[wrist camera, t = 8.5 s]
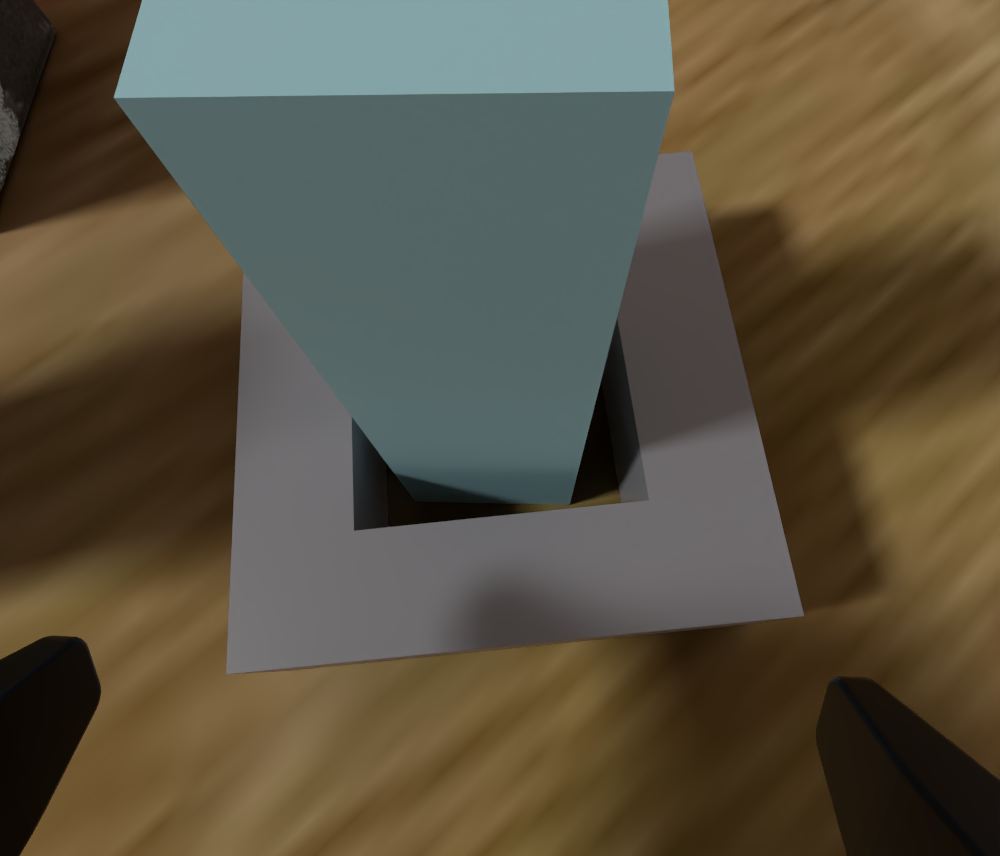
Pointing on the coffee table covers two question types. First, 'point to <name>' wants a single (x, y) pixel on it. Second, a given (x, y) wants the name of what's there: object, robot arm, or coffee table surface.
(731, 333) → the socket
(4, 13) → the chalk box
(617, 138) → the peg
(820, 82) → the coffee table surface
